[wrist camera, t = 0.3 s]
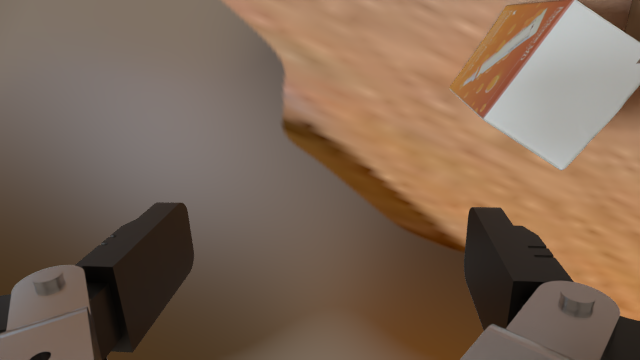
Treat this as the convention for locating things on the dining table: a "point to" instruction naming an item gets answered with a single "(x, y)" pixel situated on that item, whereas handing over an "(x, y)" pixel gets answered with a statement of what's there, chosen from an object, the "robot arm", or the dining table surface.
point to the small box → (550, 76)
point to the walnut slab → (634, 20)
